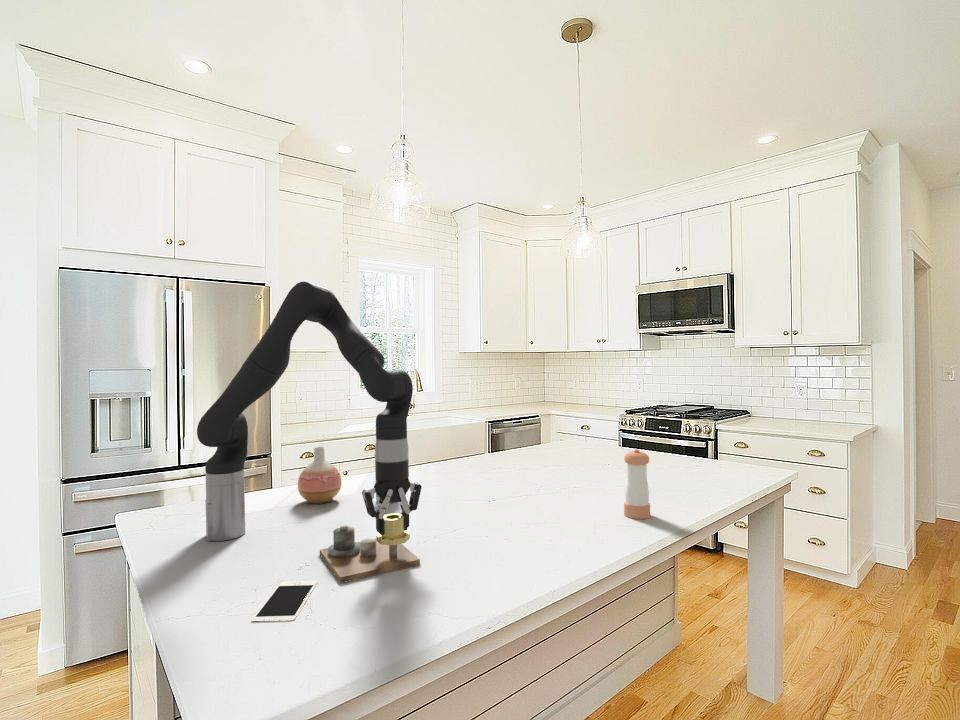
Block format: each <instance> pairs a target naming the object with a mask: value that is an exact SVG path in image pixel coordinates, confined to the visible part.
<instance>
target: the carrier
mask: <svg viewBox="0 0 960 720" xmlns="http://www.w3.org/2000/svg"><path fill="white" fill-rule="evenodd" d="M332 531H333V532H332V533H333V534H332V535H333V538H332V539H333V544H331V545H330V546H328V547H326V548H321V549H319V556H320V555H321V556H322V557H321V556H320V557H321V558H322V560H323V559H324V560H323V561H324V563H325V562H326V563H325V564H326V565H327V567H328V566H329V567H328V568H329V569H330V570H332V571H331V572H332V574H333V575H334V574H335V575H334V576H335V578H336V577H337V578H336V579H337V580H338V582H339V581H340V582H339V583H340V584H342V583H341V582H343V583H346V582H345V581H347V582H350V581H349V580H352V581H354V580H355V579H356V580H360V579H363V578H368V577H372V576H376V575H377V576H378V575H380V574H381V575H383V574H384V573H385V574H386V573H389V572H390V573H391V572H395V571H398V570H402V569H407V568H411V567H415V566H419V565H421V559H420V558H419V557H418V555H415V554H414V553H413V552H412V551H410V549H408V548H407V547H406V546H405V545H403V543H402V544H398V545H381V544H380V543H379V542H377V541H376V538H366V539H363V540H361V541H357V542H356V541H355V538H356V537H355V528H354V527H353V526H349V525H340V527H337V528H335V529H333V530H332ZM359 578H360V579H359Z"/></svg>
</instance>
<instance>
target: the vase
mask: <svg viewBox="0 0 960 720" xmlns="http://www.w3.org/2000/svg"><path fill="white" fill-rule="evenodd" d="M313 450H314V451H313V461H312V462H311V463H309V464H308V465H306V467H305V468H304V469H303V470H302V471H301V472H300V474H299V476H298V480H297V491H298V493H299V495H300V496H301V497H302V499H304V500H306V501H307V502H308V503H309V504H313V505H321V504H326V503H329V502H331V501H332V500H333V499H334V498H335V497H336V496H337V495H338V494H339V493H340V491H341V488H342V485H343V484H342V476H341V473H340V472H339V470H338V469H337V468H336V466H334V465H333V464H332V463H330V462H328V461H327V460H326V458H325V447H324V446H315V447H314V448H313Z"/></svg>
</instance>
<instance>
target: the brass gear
mask: <svg viewBox="0 0 960 720" xmlns="http://www.w3.org/2000/svg"><path fill="white" fill-rule="evenodd" d="M383 518H384V519H385V534H384V535H381V534H379V533H377V534H376V536H375V539H376V541H377V542H379V543H380V544H381V545H398V544H402V545H403V544H405V543H407V542H408V541H409V540H410V538H411V535H410V532H409V531H408V530H404V516H403V515H402V514H401V513H388V514H384V517H383Z"/></svg>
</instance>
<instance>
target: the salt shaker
mask: <svg viewBox="0 0 960 720" xmlns="http://www.w3.org/2000/svg"><path fill="white" fill-rule="evenodd" d="M623 460H624V462H625V463H626V483H625V488H624V497H625V498H624V499H625V500H624V503H623V515H624V516H625V517H626V518H630V519H635V520H645V519H646V520H647V519H649V518H650V517H651V504H650V502H649V501H650V498H649V497H650V491H649V490H650V489H649V484H648V477H647V476H648V475H647V474H648V473H647V472H648V471H647V470H648V469H647V467H648V466H647V465H648V464H649V462H650V457H649V455H648V454H647V453H645V452H643V451H640V450H639V449H638V448H635V449H634V450H633V451H629V452H626V454H625V455H624V458H623Z"/></svg>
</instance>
